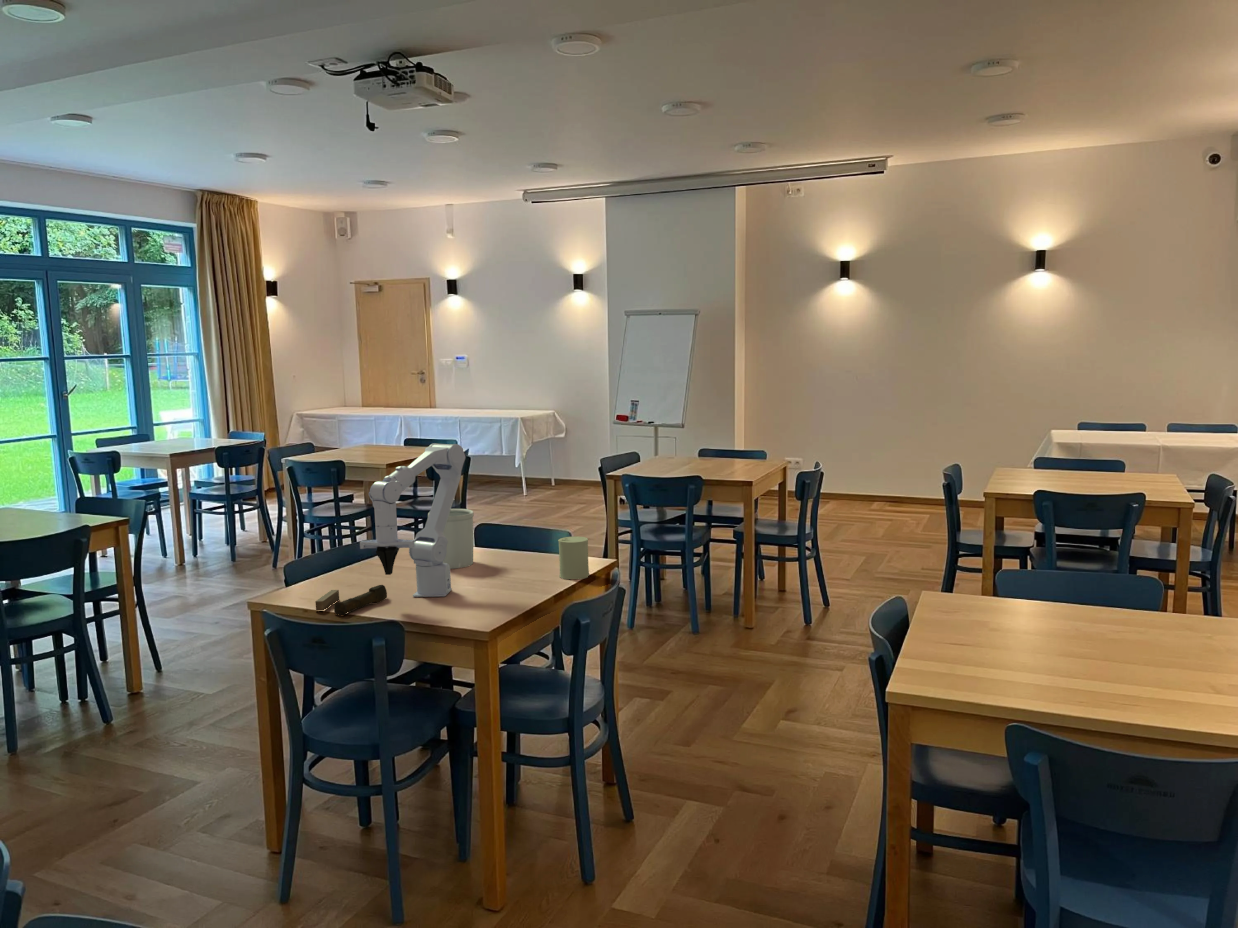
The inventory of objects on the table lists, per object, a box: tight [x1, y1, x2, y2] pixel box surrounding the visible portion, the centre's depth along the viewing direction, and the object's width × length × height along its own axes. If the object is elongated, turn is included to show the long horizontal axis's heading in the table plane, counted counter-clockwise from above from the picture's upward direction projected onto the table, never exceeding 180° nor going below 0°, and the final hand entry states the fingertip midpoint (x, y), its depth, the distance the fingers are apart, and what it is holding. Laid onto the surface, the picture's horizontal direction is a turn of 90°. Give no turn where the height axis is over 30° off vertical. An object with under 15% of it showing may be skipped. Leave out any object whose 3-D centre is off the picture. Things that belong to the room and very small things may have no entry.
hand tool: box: [333, 584, 388, 617], centre depth 246 cm, size 19×4×5 cm, turn 151°
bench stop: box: [314, 589, 340, 611], centre depth 248 cm, size 2×12×3 cm, turn 177°
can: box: [557, 535, 590, 580], centre depth 275 cm, size 9×9×12 cm
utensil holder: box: [427, 508, 475, 570], centre depth 294 cm, size 15×15×18 cm
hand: (388, 573), depth 245 cm, fingers closed
